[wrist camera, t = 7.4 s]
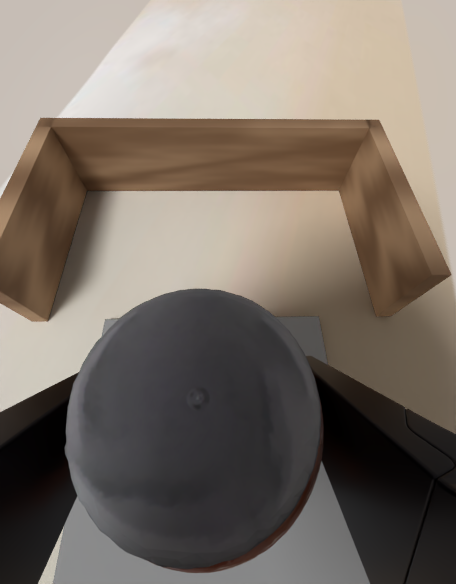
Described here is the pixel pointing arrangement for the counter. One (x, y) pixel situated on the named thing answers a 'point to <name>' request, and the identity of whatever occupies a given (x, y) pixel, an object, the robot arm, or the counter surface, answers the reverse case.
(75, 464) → the supplement bottle
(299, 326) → the mat
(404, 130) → the counter surface
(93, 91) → the counter surface
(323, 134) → the open wooden enclosure
